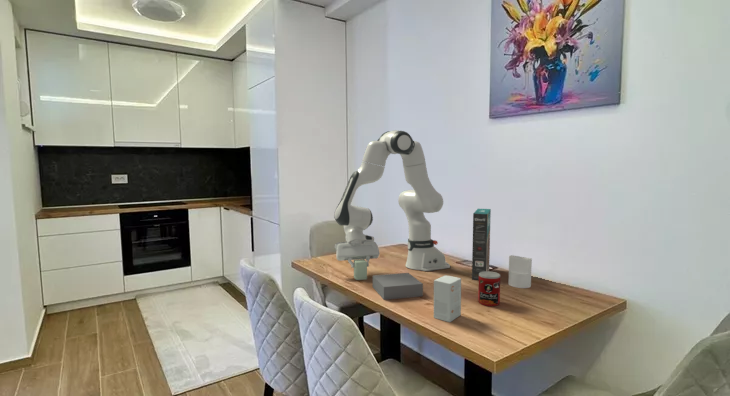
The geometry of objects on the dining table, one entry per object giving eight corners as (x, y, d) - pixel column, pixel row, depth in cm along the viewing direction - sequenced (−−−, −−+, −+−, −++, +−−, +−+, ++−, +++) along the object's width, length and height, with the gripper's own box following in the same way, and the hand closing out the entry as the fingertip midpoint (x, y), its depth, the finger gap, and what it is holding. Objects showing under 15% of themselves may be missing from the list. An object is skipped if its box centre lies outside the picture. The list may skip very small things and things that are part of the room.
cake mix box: (485, 281, 168) (487, 214, 166) (471, 279, 171) (473, 213, 168) (489, 268, 189) (490, 209, 186) (476, 267, 191) (477, 208, 188)
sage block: (364, 276, 176) (364, 259, 176) (366, 279, 172) (366, 261, 171) (353, 277, 175) (353, 260, 174) (356, 280, 170) (356, 262, 170)
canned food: (477, 305, 139) (477, 275, 138) (479, 298, 147) (479, 270, 146) (499, 307, 136) (499, 278, 135) (500, 300, 144) (500, 272, 143)
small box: (444, 310, 134) (445, 274, 133) (461, 315, 130) (461, 278, 128) (432, 317, 127) (433, 280, 126) (450, 322, 123) (450, 283, 122)
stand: (408, 284, 164) (408, 272, 164) (422, 296, 149) (422, 283, 148) (372, 287, 160) (372, 275, 160) (383, 299, 145) (383, 287, 144)
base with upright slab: (534, 284, 163) (534, 257, 162) (526, 289, 157) (527, 261, 156) (513, 280, 169) (513, 254, 168) (504, 285, 163) (505, 257, 162)
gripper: (334, 238, 177) (338, 264, 168) (376, 236, 182) (382, 261, 173) (333, 246, 181) (337, 271, 173) (374, 244, 186) (380, 268, 178)
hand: (360, 266), depth 173 cm, fingers closed on sage block, 5 cm apart
